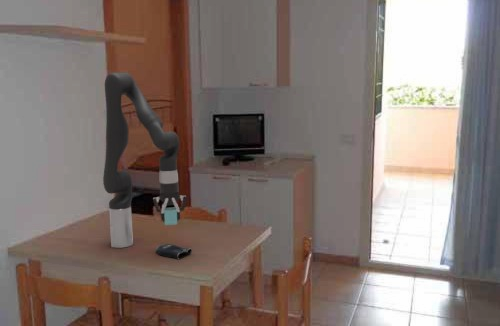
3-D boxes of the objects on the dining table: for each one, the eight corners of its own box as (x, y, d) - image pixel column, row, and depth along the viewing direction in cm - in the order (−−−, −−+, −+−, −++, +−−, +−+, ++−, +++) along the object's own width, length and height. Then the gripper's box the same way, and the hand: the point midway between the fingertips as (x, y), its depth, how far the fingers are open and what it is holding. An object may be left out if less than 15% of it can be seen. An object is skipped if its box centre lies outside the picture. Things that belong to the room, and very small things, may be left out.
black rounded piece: (193, 257, 208) (166, 246, 216) (193, 245, 207) (166, 234, 214) (178, 266, 201) (151, 255, 209) (177, 255, 199) (150, 243, 207)
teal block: (165, 225, 203) (164, 211, 202) (164, 221, 208) (163, 208, 207) (177, 224, 204) (176, 210, 203) (176, 221, 209) (175, 207, 208)
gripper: (151, 183, 198) (153, 225, 201) (187, 181, 201) (189, 222, 204) (150, 180, 205) (153, 219, 208) (185, 178, 208) (187, 217, 211)
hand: (170, 220), depth 206 cm, fingers closed on teal block, 5 cm apart
